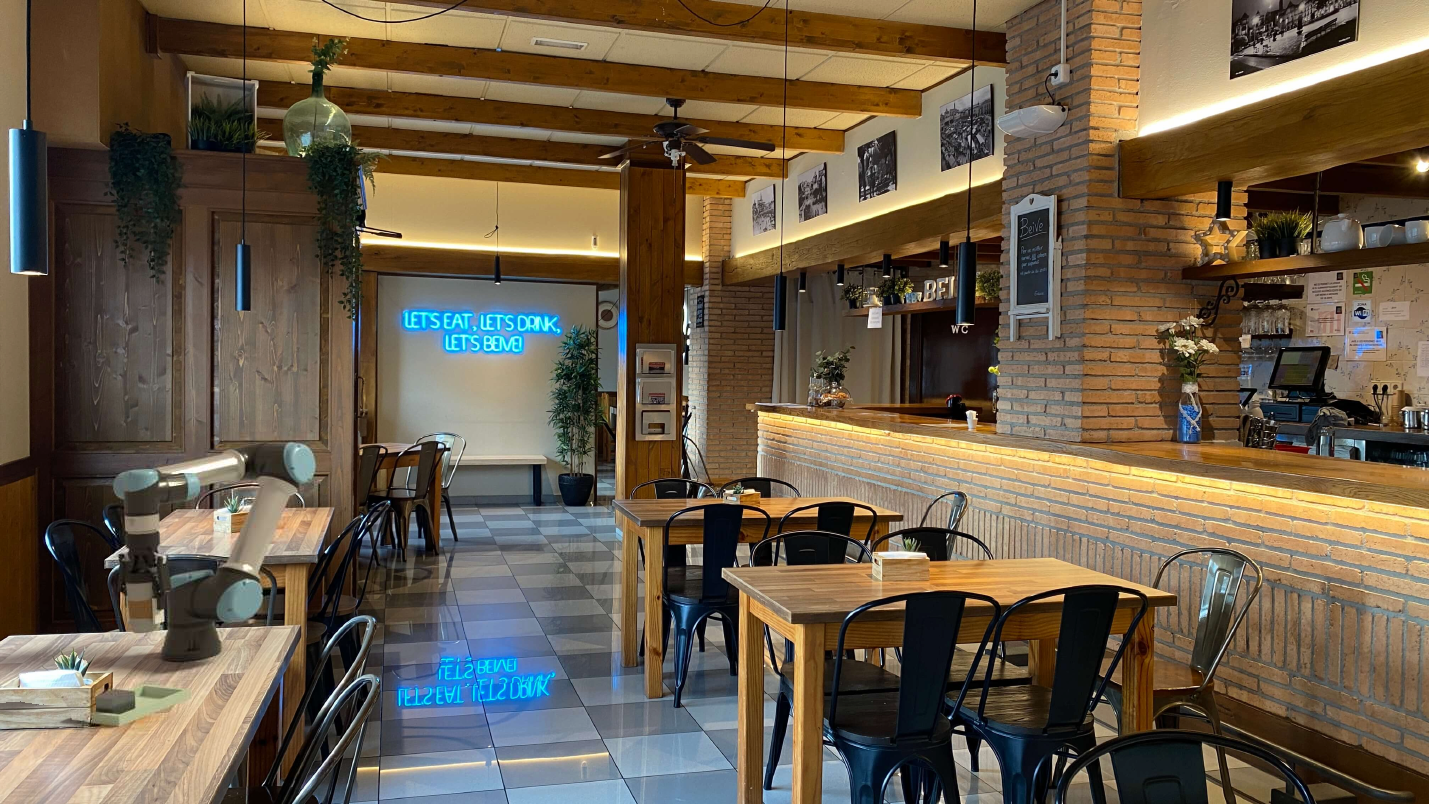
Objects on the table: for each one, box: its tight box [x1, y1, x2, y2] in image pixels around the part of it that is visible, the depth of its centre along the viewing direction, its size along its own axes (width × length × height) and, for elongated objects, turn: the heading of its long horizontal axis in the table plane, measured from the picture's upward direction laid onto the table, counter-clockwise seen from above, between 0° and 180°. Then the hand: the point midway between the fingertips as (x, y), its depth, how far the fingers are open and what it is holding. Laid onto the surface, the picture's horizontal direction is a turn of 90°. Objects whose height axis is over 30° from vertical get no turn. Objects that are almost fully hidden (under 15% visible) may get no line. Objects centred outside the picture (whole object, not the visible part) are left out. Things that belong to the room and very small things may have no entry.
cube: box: [95, 688, 135, 715], centre depth 231 cm, size 6×6×5 cm
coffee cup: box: [125, 569, 161, 634], centre depth 255 cm, size 8×8×15 cm
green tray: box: [90, 683, 191, 728], centre depth 236 cm, size 20×14×3 cm
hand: (145, 621), depth 255 cm, fingers closed on coffee cup, 7 cm apart
